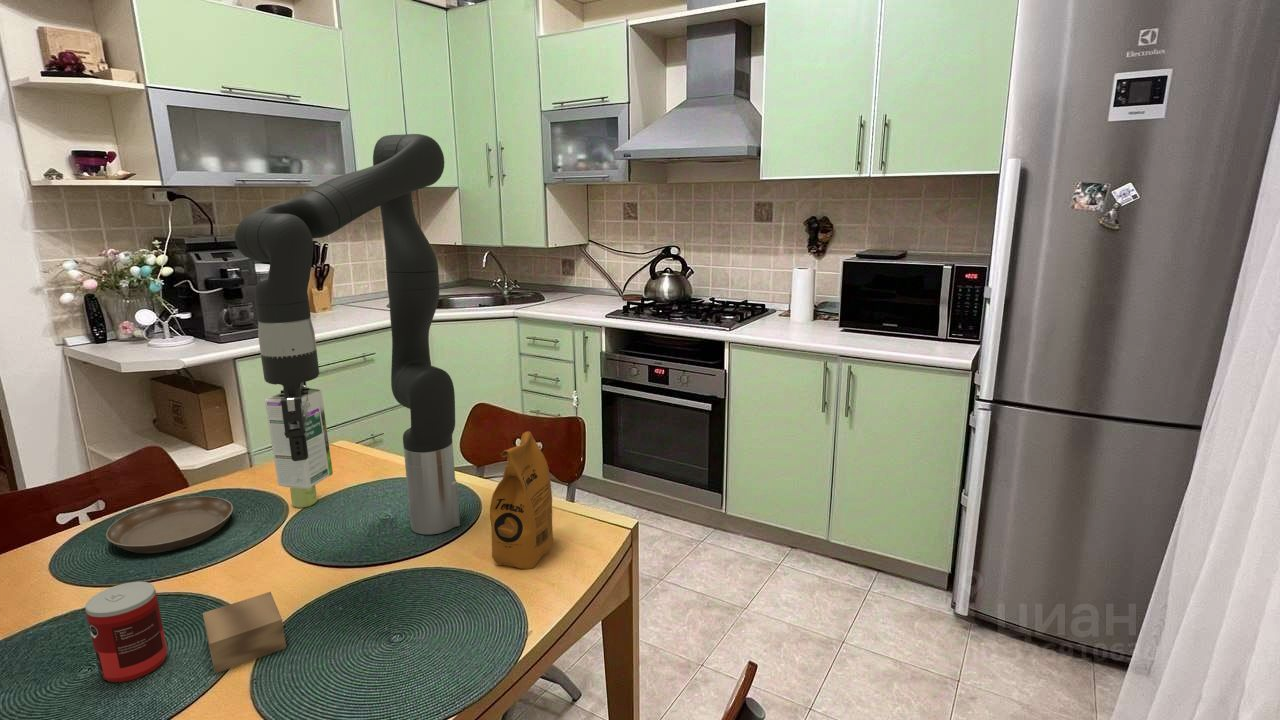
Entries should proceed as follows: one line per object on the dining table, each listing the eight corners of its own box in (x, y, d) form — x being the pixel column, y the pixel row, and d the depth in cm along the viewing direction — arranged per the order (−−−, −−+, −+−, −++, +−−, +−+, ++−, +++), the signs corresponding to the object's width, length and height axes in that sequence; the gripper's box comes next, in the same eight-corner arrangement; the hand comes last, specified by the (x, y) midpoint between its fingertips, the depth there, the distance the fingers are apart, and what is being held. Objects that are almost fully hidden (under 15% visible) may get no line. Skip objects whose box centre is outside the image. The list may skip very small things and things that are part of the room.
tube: (322, 504, 145) (311, 418, 140) (297, 511, 142) (285, 424, 137) (312, 496, 149) (302, 412, 144) (288, 503, 146) (276, 417, 141)
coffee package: (483, 565, 120) (475, 450, 115) (514, 533, 132) (508, 427, 127) (534, 574, 118) (528, 456, 113) (561, 540, 129) (557, 432, 124)
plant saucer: (257, 522, 137) (254, 507, 137) (146, 571, 120) (143, 554, 119) (197, 502, 147) (195, 488, 146) (87, 544, 129) (83, 529, 128)
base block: (274, 619, 106) (270, 591, 104) (286, 649, 99) (282, 619, 98) (207, 642, 100) (202, 613, 99) (215, 675, 93) (209, 644, 92)
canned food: (123, 649, 98) (108, 582, 96) (180, 646, 99) (167, 579, 97) (85, 685, 91) (69, 614, 88) (147, 682, 92) (133, 611, 89)
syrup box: (309, 489, 103) (298, 399, 99) (276, 486, 104) (263, 396, 100) (333, 475, 108) (323, 388, 105) (301, 472, 109) (290, 386, 106)
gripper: (313, 356, 96) (327, 463, 100) (318, 337, 109) (329, 433, 113) (254, 361, 93) (270, 471, 97) (265, 341, 106) (279, 439, 110)
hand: (302, 450), depth 105 cm, fingers closed on syrup box, 7 cm apart
